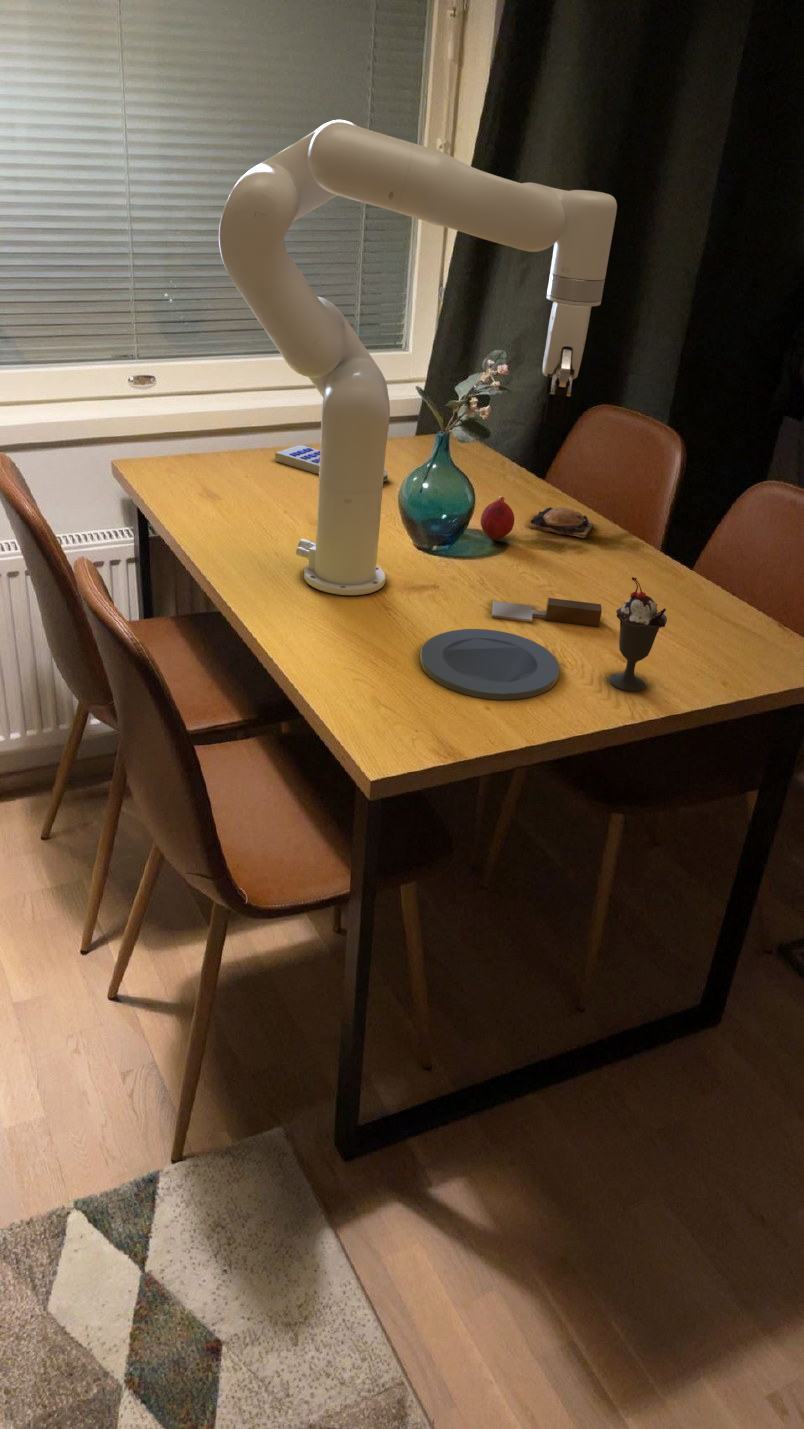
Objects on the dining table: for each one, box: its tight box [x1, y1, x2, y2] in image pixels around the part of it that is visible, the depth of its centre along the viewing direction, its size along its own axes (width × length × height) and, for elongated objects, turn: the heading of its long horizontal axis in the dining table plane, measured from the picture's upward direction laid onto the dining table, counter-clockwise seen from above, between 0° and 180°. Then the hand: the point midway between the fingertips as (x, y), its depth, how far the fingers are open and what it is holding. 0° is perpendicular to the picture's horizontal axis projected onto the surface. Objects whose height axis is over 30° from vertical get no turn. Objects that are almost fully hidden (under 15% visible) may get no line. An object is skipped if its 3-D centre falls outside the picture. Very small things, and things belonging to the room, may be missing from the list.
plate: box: [419, 628, 560, 701], centre depth 153 cm, size 19×19×1 cm
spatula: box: [491, 597, 603, 628], centre depth 168 cm, size 16×5×3 cm, turn 84°
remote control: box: [274, 444, 389, 483], centre depth 220 cm, size 8×23×2 cm, turn 56°
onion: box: [480, 495, 515, 542], centre depth 193 cm, size 6×6×8 cm
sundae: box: [608, 576, 668, 692], centre depth 149 cm, size 7×7×15 cm
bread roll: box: [528, 506, 594, 539], centre depth 203 cm, size 11×8×4 cm
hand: (555, 414), depth 163 cm, fingers open, 9 cm apart
